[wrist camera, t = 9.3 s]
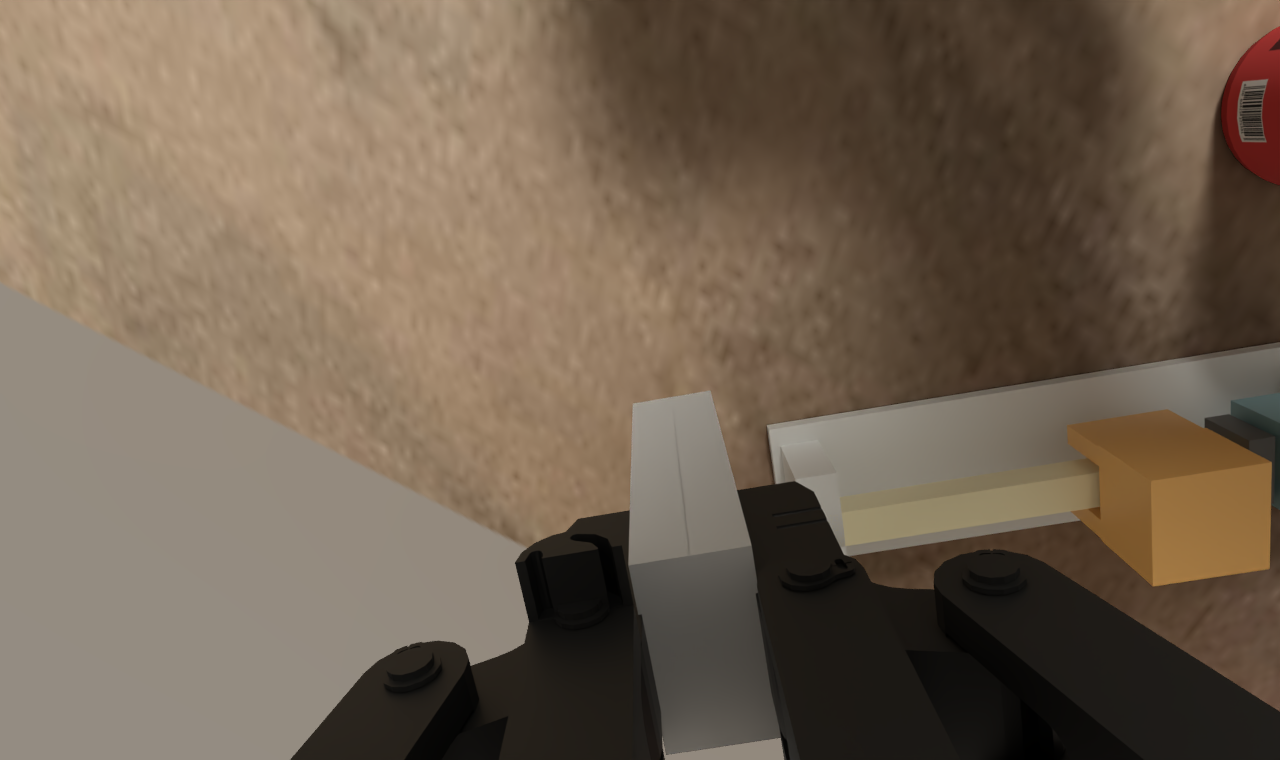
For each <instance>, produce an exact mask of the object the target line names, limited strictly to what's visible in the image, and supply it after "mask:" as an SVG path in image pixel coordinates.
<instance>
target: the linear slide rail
mask: <svg viewBox="0 0 1280 760" xmlns="http://www.w3.org/2000/svg"><path fill="white" fill-rule="evenodd" d="M1165 409H1168V410H1170V411H1172V412H1174V413H1176V414H1177V415H1179V416H1181V417H1183V418H1185V419H1187V420H1189V421H1191V422H1193V423H1194V424H1196V425H1198V426H1200V427H1202V428H1208V429H1210V430H1211V431H1213V432H1215V433H1217V434H1219V435H1221V436H1223V437H1225V438H1227V439H1229V440H1231V441H1232V442H1234V443H1236V444H1238V445H1240V446H1242V447H1244V448H1246V449H1248V450H1250V451H1251V452H1253V453H1255V454H1257V455H1259V456H1261V457H1263V458H1265V459H1267V460H1269V461H1270V462H1272V479H1271V505H1272V506H1274V507H1275V508H1277V509H1279V510H1280V342H1277V343H1271V344H1265V345H1259V346H1253V347H1246V348H1240V349H1234V350H1228V351H1222V352H1216V353H1209V354H1203V355H1197V356H1191V357H1185V358H1179V359H1172V360H1166V361H1160V362H1154V363H1148V364H1141V365H1135V366H1129V367H1123V368H1117V369H1111V370H1104V371H1098V372H1092V373H1086V374H1080V375H1073V376H1067V377H1061V378H1055V379H1049V380H1043V381H1036V382H1030V383H1024V384H1018V385H1012V386H1005V387H999V388H993V389H987V390H981V391H975V392H968V393H962V394H956V395H950V396H944V397H938V398H931V399H925V400H919V401H913V402H907V403H900V404H894V405H888V406H882V407H876V408H870V409H863V410H857V411H851V412H845V413H839V414H832V415H826V416H820V417H814V418H808V419H802V420H795V421H789V422H783V423H777V424H771V425H767V432H768V439H769V446H770V453H771V460H772V467H773V474H774V481H775V484H780V483H786V482H792V481H796V482H798V483H799V484H801V485H803V486H805V487H807V488H808V489H810V490H812V491H814V493H815V495H816V497H817V499H818V501H819V503H820V505H821V509H822V510H823V512H824V514H825V516H826V518H827V521H828V522H829V524H830V526H831V529H832V531H833V533H834V535H835V537H836V539H837V541H838V543H839V545H840V547H841V549H842V552H843V554H844V555H846V556H853V555H860V554H866V553H873V552H879V551H886V550H892V549H898V548H905V547H911V546H918V545H924V544H931V543H937V542H944V541H950V540H957V539H963V538H970V537H976V536H983V535H989V534H996V533H1002V532H1009V531H1015V530H1021V529H1028V528H1034V527H1041V526H1047V525H1054V524H1060V523H1067V522H1073V521H1080V519H1078V518H1077V517H1076V516H1075V515H1074V514H1073V513H1072V512H1071V511H1076V510H1083V509H1089V508H1096V507H1100V482H1099V466H1098V465H1096V464H1095V463H1094V462H1092V461H1091V460H1089V459H1088V458H1087V457H1085V456H1084V455H1083V454H1081V453H1080V452H1079V451H1077V450H1076V449H1074V448H1073V447H1072V446H1070V445H1069V444H1068V438H1067V425H1071V424H1077V423H1083V422H1090V421H1096V420H1102V419H1109V418H1115V417H1121V416H1127V415H1134V414H1140V413H1146V412H1153V411H1159V410H1165Z"/></svg>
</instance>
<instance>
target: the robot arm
mask: <svg viewBox="0 0 1280 760" xmlns="http://www.w3.org/2000/svg"><path fill="white" fill-rule="evenodd" d="M515 564H516V569H517V573H518V577H519V581H520V585H521V590H522V593H523V598H524V602H525V606H526V611H527V614H528V619H529V625H528V630H527V634H526V639H525V643H524V644H523V645H521V646H519V647H518V648H516V649H514V650H512V651H510V652H508V653H505V654H503V655H500V656H498V657H495V658H492V659H490V660H487V661H484V662H481V663H478V664H475V665H472V666H470V662H469V659H468V656H467V653H466V650H465V649H464V648H463V647H461V646H459V645H457V644H456V643H453V642H444V641H432V642H426V643H422V642H420V643H415V644H411V645H410V646H409V647H407V646H405V647H402V648H400V649H397V650H395V651H394V652H393V653H392V654H390V655H388V656H386V657H384V658H383V659H381V660H379V661H378V662H377V663H375V664H374V665H373V666H372V667H371V668H370V669H368V670H367V671H366V672H365V673H364V674H363V675H362V676H361V678H360V679H359V680H358V681H357V682H356V683H355V685H354V686H353V687H352V688H351V689H350V691H349V692H348V693H347V694H346V695H345V696H344V697H343V699H342V700H341V701H340V702H339V703H338V704H337V706H336V707H335V708H334V709H333V710H332V712H331V713H330V714H329V715H328V716H327V718H326V719H325V720H324V721H323V722H322V723H321V724H320V726H319V727H318V728H317V729H316V730H315V732H314V733H313V734H312V735H311V736H310V737H309V738H308V740H307V741H306V742H305V743H304V744H303V746H302V747H301V748H300V749H299V750H298V752H297V753H296V754H295V755H294V756H293V757H292V758H291V760H665V758H664V754H663V749H662V736H663V741H664V746H665V751H666V755H668V754H675V753H682V752H689V751H695V750H701V749H708V748H715V747H721V746H728V745H735V744H742V743H749V742H755V741H761V740H769V739H775V738H781V741H782V747H783V753H784V760H1280V712H1279V711H1278V710H1276V709H1275V708H1273V707H1271V706H1270V705H1268V704H1267V703H1265V702H1263V701H1262V700H1260V699H1259V698H1257V697H1256V696H1254V695H1252V694H1251V693H1249V692H1248V691H1246V690H1245V689H1243V688H1241V687H1240V686H1238V685H1237V684H1235V683H1233V682H1232V681H1230V680H1229V679H1227V678H1226V677H1224V676H1222V675H1221V674H1219V673H1218V672H1216V671H1215V670H1213V669H1211V668H1210V667H1208V666H1207V665H1205V664H1203V663H1202V662H1200V661H1199V660H1197V659H1196V658H1194V657H1192V656H1191V655H1189V654H1188V653H1186V652H1185V651H1183V650H1181V649H1180V648H1178V647H1177V646H1175V645H1174V644H1172V643H1170V642H1169V641H1167V640H1166V639H1164V638H1162V637H1161V636H1159V635H1158V634H1156V633H1155V632H1153V631H1151V630H1150V629H1148V628H1147V627H1145V626H1144V625H1142V624H1140V623H1139V622H1137V621H1136V620H1134V619H1132V618H1131V617H1129V616H1128V615H1126V614H1125V613H1123V612H1121V611H1120V610H1118V609H1117V608H1115V607H1114V606H1112V605H1110V604H1109V603H1107V602H1106V601H1104V600H1102V599H1101V598H1099V597H1098V596H1096V595H1095V594H1093V593H1091V592H1090V591H1088V590H1087V589H1085V588H1084V587H1082V586H1080V585H1079V584H1077V583H1076V582H1074V581H1072V580H1071V579H1069V578H1068V577H1066V576H1065V575H1063V574H1061V573H1060V572H1058V571H1057V570H1055V569H1054V568H1052V567H1050V566H1049V565H1047V564H1046V563H1044V562H1041V561H1039V560H1037V559H1035V558H1032V557H1030V556H1028V555H1023V554H1018V553H1013V552H1008V551H1006V550H993V551H990V550H979V551H976V552H973V553H967V554H961V555H959V556H957V557H954V558H952V559H950V560H947V561H945V562H944V563H943V564H942V565H941V566H940V567H939V568H938V569H937V570H936V571H935V574H934V590H930V589H903V588H892V587H887V586H883V585H878V584H875V583H873V582H871V581H870V579H869V577H868V575H867V573H866V571H865V569H864V568H863V567H862V565H861V564H860V563H859V562H858V561H857V560H856V559H854V558H851V557H849V556H846V555H844V554H843V552H842V549H841V547H840V545H839V543H838V541H837V539H836V537H835V535H834V533H833V531H832V529H831V526H830V524H829V522H828V521H827V518H826V516H825V514H824V512H823V510H822V509H821V505H820V503H819V501H818V499H817V497H816V495H815V493H814V491H812V490H810V489H808V488H807V487H805V486H803V485H801V484H799V483H798V482H796V481H792V482H786V483H780V484H774V485H767V486H761V487H755V488H749V489H743V490H737V489H736V485H735V481H734V478H733V474H732V470H731V466H730V462H729V459H728V455H727V451H726V447H725V444H724V440H723V436H722V432H721V429H720V425H719V421H718V417H717V414H716V410H715V406H714V402H713V399H712V395H711V391H705V392H699V393H693V394H687V395H681V396H675V397H669V398H664V399H658V400H652V401H646V402H640V403H634V404H633V418H632V454H631V489H630V511H624V512H618V513H611V514H605V515H599V516H593V517H587V518H581V519H578V520H577V521H576V522H575V523H574V524H573V525H572V526H571V527H570V528H569V529H568V530H567V531H566V532H564V533H560V534H556V535H552V536H550V537H548V538H545V539H543V540H541V541H539V542H536V543H534V544H533V545H532V546H530V547H529V548H527V549H526V550H525V551H523V552H522V553H521V555H520V556H519V558H518V559H517V561H516V562H515Z"/></svg>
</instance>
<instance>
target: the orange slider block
mask: <svg viewBox="0 0 1280 760" xmlns="http://www.w3.org/2000/svg"><path fill="white" fill-rule="evenodd" d="M1067 438H1068V444H1069V445H1070V446H1072V447H1073V448H1074V449H1076V450H1077V451H1079V452H1080V453H1081V454H1083V455H1084V456H1085V457H1087V458H1088V459H1089V460H1091V461H1092V462H1094V463H1095V464H1096V465H1098V466H1099V482H1100V507H1096V508H1089V509H1083V510H1076V511H1071V512H1072V513H1073V514H1074V515H1075V516H1076V517H1077V518H1078V519H1080V520H1081V521H1082V522H1083V523H1084V524H1085V525H1086V526H1087V527H1089V528H1090V529H1091V530H1092V531H1093V532H1094V533H1095V534H1096V535H1098V536H1099V537H1100V538H1101V539H1102V542H1103V543H1105V544H1106V545H1107V546H1108V547H1109V548H1110V549H1111V550H1112V551H1114V552H1115V553H1116V554H1117V555H1118V556H1119V557H1120V558H1121V559H1123V560H1124V561H1125V562H1126V563H1127V564H1128V565H1129V566H1130V567H1132V568H1133V569H1134V570H1135V571H1136V572H1137V573H1138V574H1139V575H1141V576H1142V577H1143V578H1144V579H1145V580H1146V581H1147V582H1148V583H1150V584H1151V585H1152V586H1160V585H1167V584H1173V583H1180V582H1186V581H1193V580H1200V579H1206V578H1213V577H1220V576H1226V575H1233V574H1240V573H1246V572H1253V571H1260V570H1266V569H1270V529H1271V479H1272V462H1270V461H1269V460H1267V459H1265V458H1263V457H1261V456H1259V455H1257V454H1255V453H1253V452H1251V451H1250V450H1248V449H1246V448H1244V447H1242V446H1240V445H1238V444H1236V443H1234V442H1232V441H1231V440H1229V439H1227V438H1225V437H1223V436H1221V435H1219V434H1217V433H1215V432H1213V431H1211V430H1210V429H1208V428H1202V427H1200V426H1198V425H1196V424H1194V423H1193V422H1191V421H1189V420H1187V419H1185V418H1183V417H1181V416H1179V415H1177V414H1176V413H1174V412H1172V411H1170V410H1168V409H1165V410H1159V411H1153V412H1146V413H1140V414H1134V415H1127V416H1121V417H1115V418H1109V419H1102V420H1096V421H1090V422H1083V423H1077V424H1071V425H1067Z"/></svg>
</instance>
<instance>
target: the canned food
mask: <svg viewBox="0 0 1280 760" xmlns="http://www.w3.org/2000/svg"><path fill="white" fill-rule="evenodd" d="M1221 121H1222V128H1223V133H1224V136H1225V139H1226V142H1227V145H1228V147H1229V148H1230V150H1231V152H1232V153H1233V155H1234V156H1235V158H1236V159H1237V160H1238V161H1239V162H1240V163H1241V164H1242V165H1243V166H1244V167H1245V168H1247V169H1248V170H1250V171H1251V172H1253V173H1254V174H1256V175H1258V176H1259V177H1261V178H1262V179H1264V180H1266V181H1269V182H1272V183H1274V184H1277V185H1280V27H1278V28H1276V29H1274V30H1272V31H1271V32H1269V33H1268V34H1266V35H1265V36H1264V37H1262V38H1261V39H1260V40H1258V41H1257V42H1256V43H1255V44H1253V45H1252V46H1251V47H1250V48H1249V49H1248V50H1247V51H1246V53H1245V54H1244V55H1243V56H1242V57H1241V58H1240V60H1239V61H1238V63H1237V64H1236V66H1235V68H1234V69H1233V71H1232V73H1231V75H1230V77H1229V80H1228V82H1227V84H1226V87H1225V91H1224V95H1223V99H1222V109H1221Z"/></svg>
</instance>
